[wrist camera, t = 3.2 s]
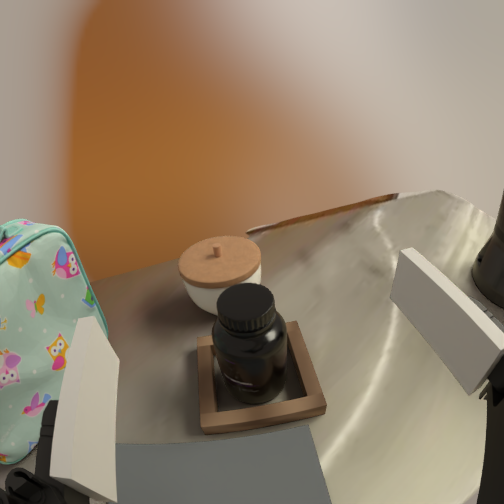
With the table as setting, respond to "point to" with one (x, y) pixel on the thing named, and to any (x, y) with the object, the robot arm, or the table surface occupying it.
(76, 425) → the robot arm
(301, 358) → the walnut collar
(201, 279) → the lidded jar
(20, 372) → the lunch box
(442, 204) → the table surface
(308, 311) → the table surface
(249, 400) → the supplement bottle
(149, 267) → the table surface
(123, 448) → the slate mat
